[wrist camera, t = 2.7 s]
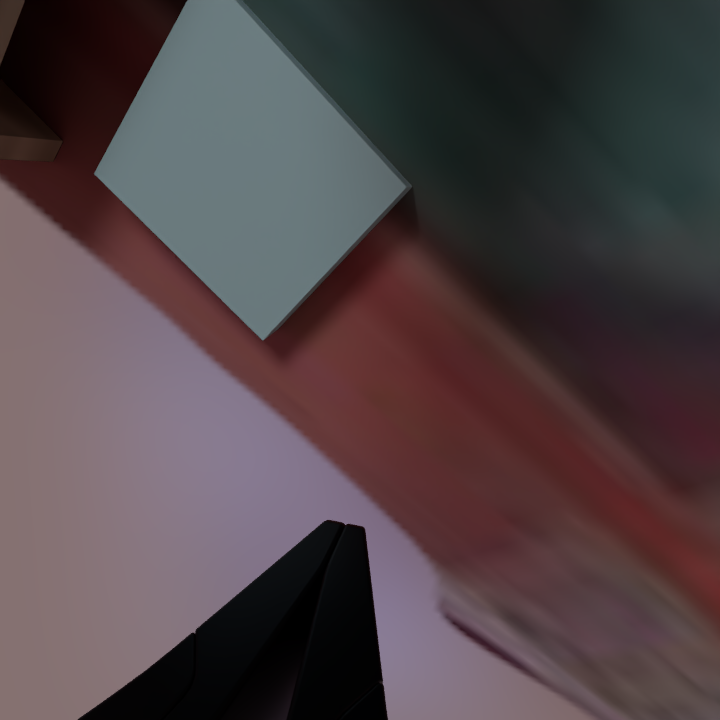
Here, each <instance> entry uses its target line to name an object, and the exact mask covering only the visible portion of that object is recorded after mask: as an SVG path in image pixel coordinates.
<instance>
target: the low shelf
mask: <svg viewBox="0 0 720 720" xmlns="http://www.w3.org/2000/svg"><path fill="white" fill-rule="evenodd" d="M24 2H25V0H0V65H1V62H2V59H3V57H4V54H5V51H6V49H7V46H8V44H9V41H10V38H11V36H12V33H13V30H14V28H15V25H16V23H17V20H18V17H19V15H20V12H21V9H22V7H23V4H24ZM62 142H63V141H62V140H61V139H60V138H59V137H58V136H57V135H56V134H55V133H54V132H53V131H52V130H51V129H50V128H49V127H48V126H47V125H46V124H45V123H44V122H43V121H42V120H41V119H40V118H39V117H38V116H37V115H36V114H35V113H34V112H33V111H32V110H31V109H30V108H29V107H28V106H27V105H26V104H25V103H24V102H23V101H22V100H21V99H20V98H19V97H18V96H17V95H16V94H15V93H14V92H13V91H12V90H11V89H10V88H9V87H8V86H7V85H6V84H5V83H4V82H3V81H2V80H1V79H0V159H4V160H25V161H47V162H53V161H54V159H55V157H56V155H57V152H58V150H59V148H60V146H61V144H62Z"/></svg>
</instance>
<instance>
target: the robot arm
mask: <svg viewBox="0 0 720 720" xmlns="http://www.w3.org/2000/svg"><path fill="white" fill-rule="evenodd" d="M195 632H196V633H191V634H190V635H189V636H188V637H186V638H185V639H184V640H183V641H181V642H180V643H179V644H178V645H177V646H176V647H174V648H173V649H172V650H171V651H170V652H168V653H167V654H166V655H164V656H163V657H162V658H161V659H160V660H158V661H157V662H156V663H155V664H153V665H152V666H151V667H150V668H148V669H147V670H146V671H144V672H143V673H142V674H140V675H139V676H138V677H136V678H135V679H133V680H132V681H131V682H129V683H128V684H127V685H125V686H124V687H123V688H121V689H120V690H118V691H117V692H116V693H114V694H113V695H112V696H110V697H109V698H107V699H106V700H104V701H103V702H102V703H100V704H99V705H97V706H96V707H95V708H93V709H92V710H90V711H89V712H88V713H86V714H85V715H83V716H82V717H80V718H79V719H78V720H388V717H387V710H386V702H385V693H384V686H383V678H382V669H381V662H380V652H379V644H378V635H377V627H376V618H375V609H374V601H373V592H372V584H371V576H370V567H369V558H368V550H367V541H366V533H365V528H364V527H362V526H357V525H352V524H347V525H345V524H344V523H342V522H337V521H332V520H326V521H324V522H323V523H322V524H321V525H320V526H318V527H317V528H316V529H315V530H314V531H312V532H311V533H310V534H309V535H308V536H306V537H305V538H304V539H303V540H302V541H301V542H299V543H298V544H297V545H296V546H295V547H293V548H292V549H291V550H290V551H289V552H287V553H286V554H285V555H284V556H283V557H281V558H280V559H279V560H278V561H277V562H275V563H274V564H273V565H272V566H271V567H270V568H268V569H267V570H266V571H265V572H264V573H262V574H261V575H260V576H259V577H258V578H257V579H255V580H254V581H253V582H252V583H251V584H249V585H248V586H247V587H246V588H245V589H243V590H242V591H241V592H240V593H239V594H237V595H236V596H235V597H234V598H233V599H232V600H230V601H229V602H228V603H227V604H226V605H224V606H223V607H222V608H221V609H220V610H219V611H217V612H216V613H215V614H214V615H213V616H211V617H210V618H209V619H208V620H207V621H205V622H204V623H203V624H202V625H201V626H200V627H199V628H197V629H196V631H195Z"/></svg>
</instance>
